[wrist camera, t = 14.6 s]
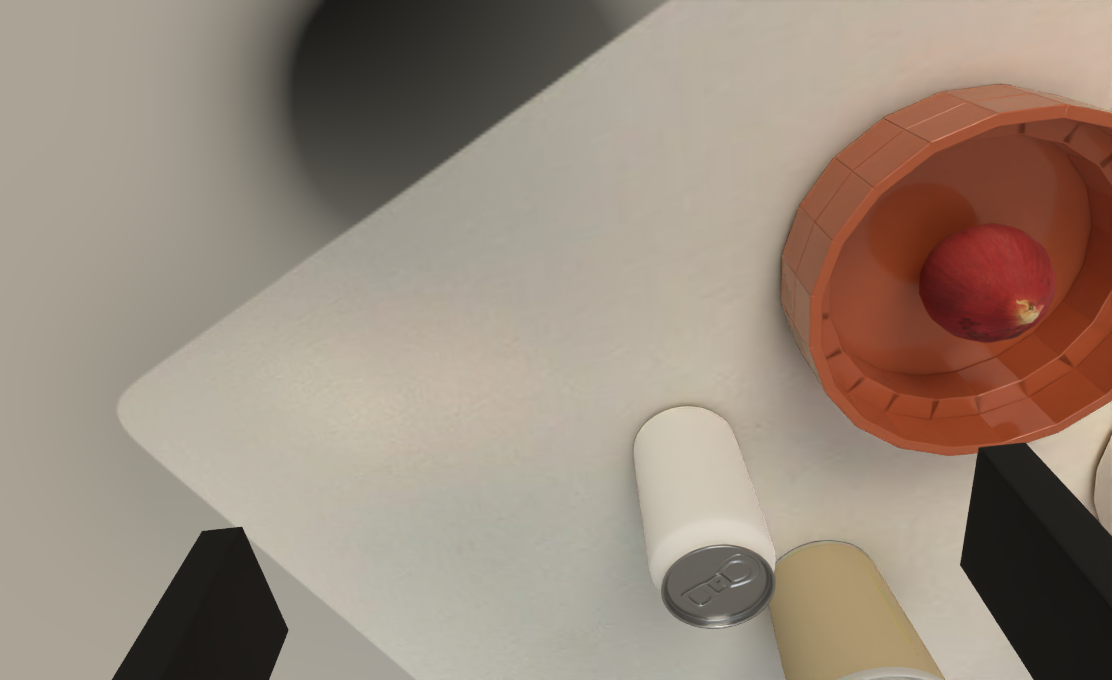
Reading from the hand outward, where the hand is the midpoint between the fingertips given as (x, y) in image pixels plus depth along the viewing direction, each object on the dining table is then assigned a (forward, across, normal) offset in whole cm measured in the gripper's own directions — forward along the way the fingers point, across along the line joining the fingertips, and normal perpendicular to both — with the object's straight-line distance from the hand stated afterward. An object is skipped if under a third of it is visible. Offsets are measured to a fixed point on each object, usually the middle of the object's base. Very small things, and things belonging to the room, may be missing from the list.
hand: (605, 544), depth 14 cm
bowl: (+28, +20, -8) cm, 35 cm away
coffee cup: (+28, +13, -32) cm, 45 cm away
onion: (+28, +20, -8) cm, 35 cm away
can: (+28, +4, -19) cm, 35 cm away
